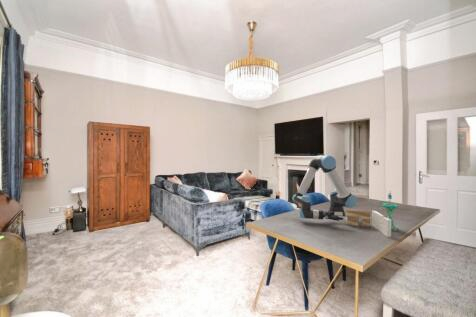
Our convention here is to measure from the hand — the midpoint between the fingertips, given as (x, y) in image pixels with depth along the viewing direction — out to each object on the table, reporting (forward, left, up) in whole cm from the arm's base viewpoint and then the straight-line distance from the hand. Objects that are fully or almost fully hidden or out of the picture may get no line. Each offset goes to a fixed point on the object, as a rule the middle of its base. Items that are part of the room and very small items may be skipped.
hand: (344, 216), depth 179 cm
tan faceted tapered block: (-1, +10, -7) cm, 12 cm away
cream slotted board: (+9, +23, -7) cm, 26 cm away
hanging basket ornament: (+2, +32, -7) cm, 33 cm away
